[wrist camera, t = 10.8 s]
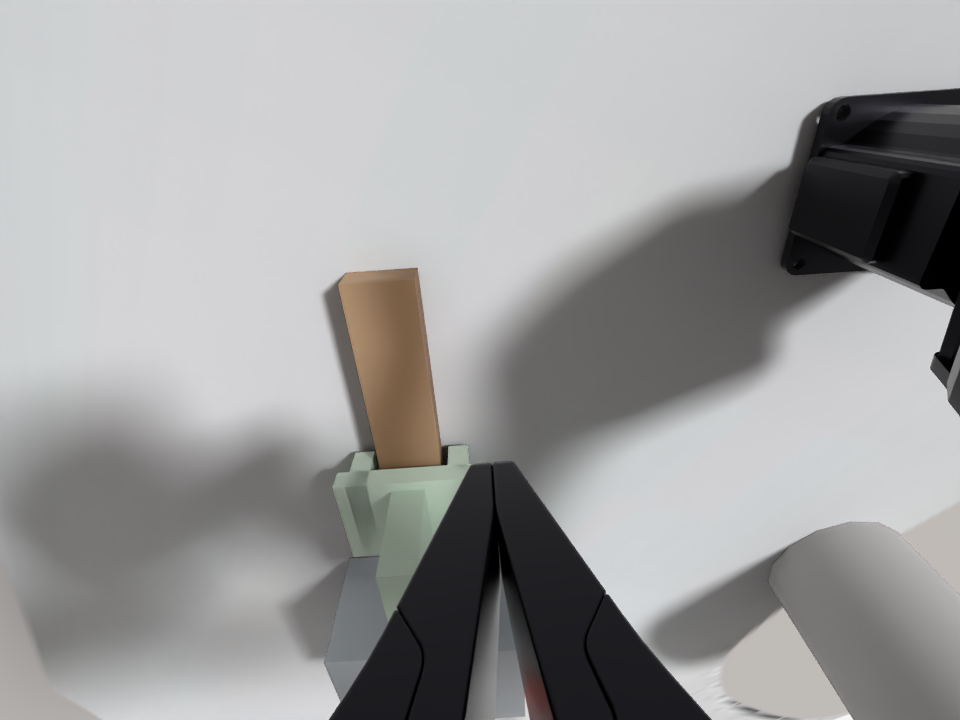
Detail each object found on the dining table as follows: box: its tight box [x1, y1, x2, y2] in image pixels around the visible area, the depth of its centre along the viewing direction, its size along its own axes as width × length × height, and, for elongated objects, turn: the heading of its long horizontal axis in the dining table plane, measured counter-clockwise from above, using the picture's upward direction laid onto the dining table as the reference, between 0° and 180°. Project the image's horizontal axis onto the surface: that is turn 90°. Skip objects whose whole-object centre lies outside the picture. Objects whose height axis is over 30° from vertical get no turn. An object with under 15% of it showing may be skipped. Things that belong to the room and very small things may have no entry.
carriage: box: [332, 445, 477, 621], centre depth 22 cm, size 7×5×7 cm
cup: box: [768, 522, 960, 720], centre depth 26 cm, size 8×8×10 cm
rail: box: [338, 268, 444, 470], centre depth 23 cm, size 3×18×1 cm, turn 4°
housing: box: [324, 555, 525, 719], centre depth 27 cm, size 10×7×6 cm
